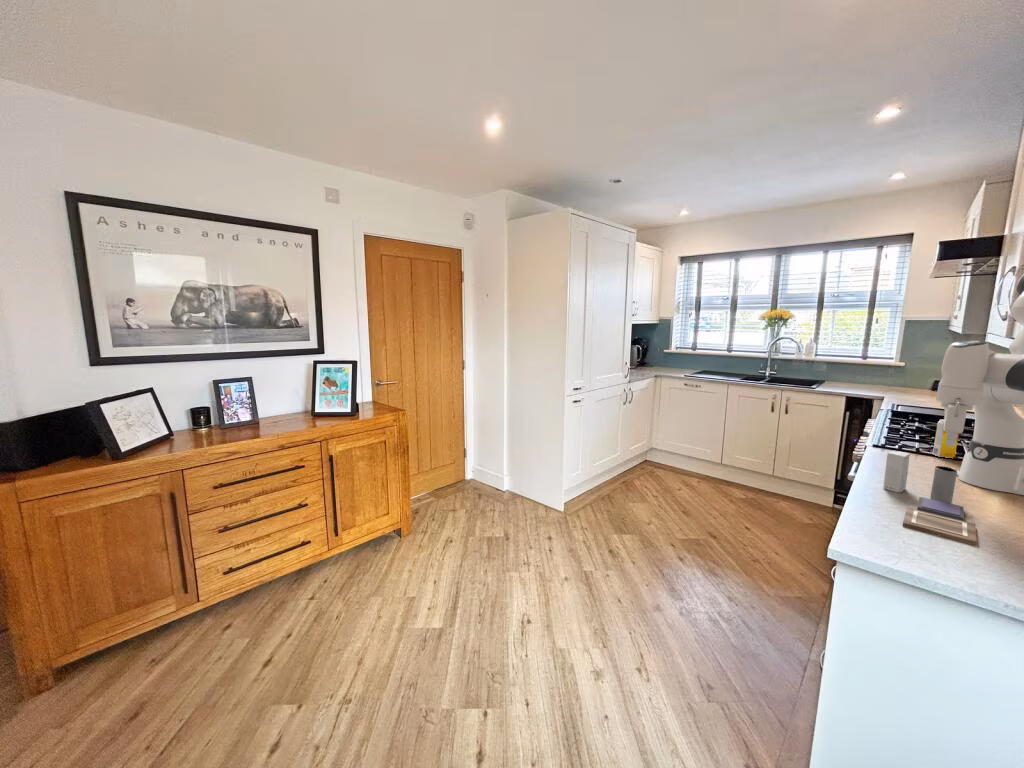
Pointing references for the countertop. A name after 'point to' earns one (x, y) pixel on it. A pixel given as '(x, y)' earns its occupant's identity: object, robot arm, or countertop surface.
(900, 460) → the skincare box
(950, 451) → the white and yellow box
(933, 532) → the marked board
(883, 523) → the countertop surface
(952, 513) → the ink pad
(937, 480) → the planter
